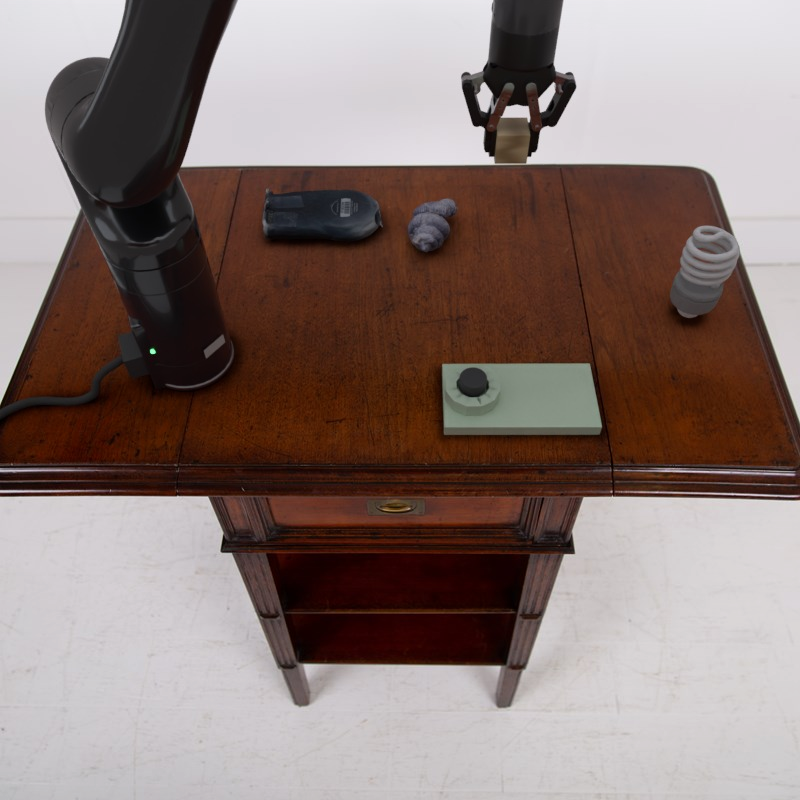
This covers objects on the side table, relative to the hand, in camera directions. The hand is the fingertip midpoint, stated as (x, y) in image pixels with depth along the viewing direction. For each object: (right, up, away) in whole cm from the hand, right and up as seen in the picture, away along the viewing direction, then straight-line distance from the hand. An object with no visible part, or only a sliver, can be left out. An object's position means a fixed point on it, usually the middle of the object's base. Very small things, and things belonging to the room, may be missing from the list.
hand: (509, 152), depth 96 cm
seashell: (-10, -11, +1) cm, 15 cm away
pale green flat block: (-1, -32, -16) cm, 36 cm away
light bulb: (+19, -22, -8) cm, 30 cm away
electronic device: (-24, -9, +3) cm, 26 cm away
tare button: (-6, -30, -18) cm, 36 cm away
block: (0, 0, 0) cm, 0 cm away
